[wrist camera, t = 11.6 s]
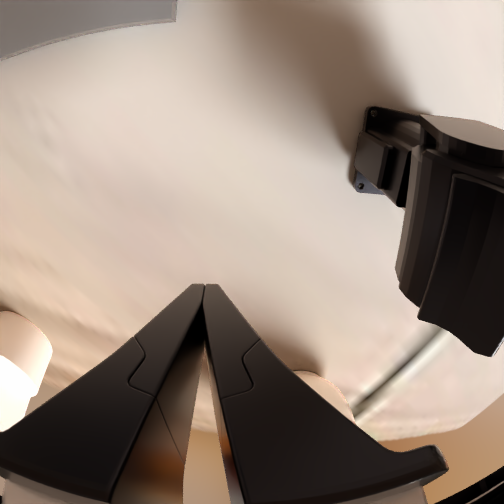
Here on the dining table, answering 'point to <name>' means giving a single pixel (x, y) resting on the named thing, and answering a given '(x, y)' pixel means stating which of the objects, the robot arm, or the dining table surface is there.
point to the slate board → (72, 20)
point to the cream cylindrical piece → (20, 365)
